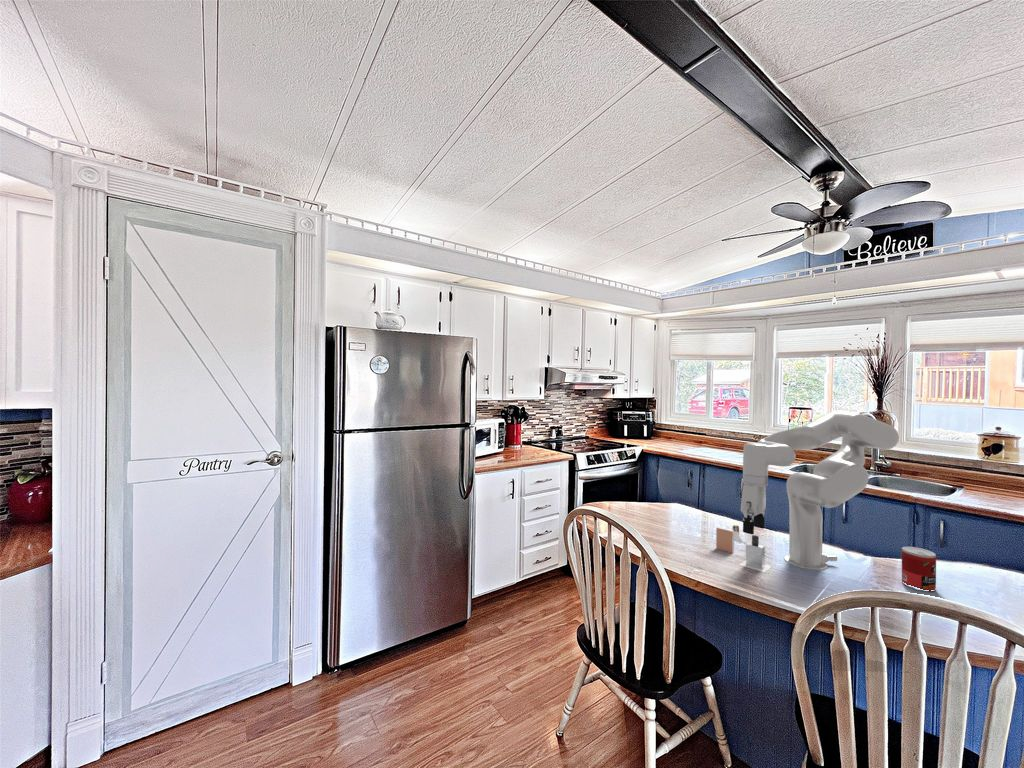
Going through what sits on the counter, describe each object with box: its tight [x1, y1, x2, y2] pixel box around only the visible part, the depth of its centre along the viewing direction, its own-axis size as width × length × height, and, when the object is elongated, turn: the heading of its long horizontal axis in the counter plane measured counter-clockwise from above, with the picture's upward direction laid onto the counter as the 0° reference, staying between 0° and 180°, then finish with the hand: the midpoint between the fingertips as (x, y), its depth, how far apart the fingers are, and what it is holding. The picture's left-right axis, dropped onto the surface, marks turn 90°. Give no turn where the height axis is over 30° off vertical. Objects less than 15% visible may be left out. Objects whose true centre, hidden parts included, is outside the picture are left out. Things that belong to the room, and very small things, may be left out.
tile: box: [715, 526, 735, 554], centre depth 164 cm, size 1×6×8 cm, turn 42°
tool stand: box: [738, 559, 772, 573], centre depth 150 cm, size 7×8×1 cm
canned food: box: [901, 546, 937, 591], centre depth 137 cm, size 8×8×11 cm
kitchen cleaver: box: [732, 524, 746, 545], centre depth 184 cm, size 24×1×10 cm
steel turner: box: [745, 534, 766, 569], centre depth 150 cm, size 2×5×10 cm, turn 42°
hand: (753, 530), depth 150 cm, fingers open, 9 cm apart
